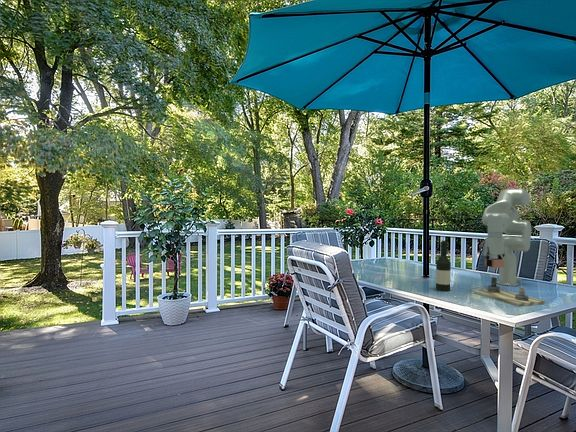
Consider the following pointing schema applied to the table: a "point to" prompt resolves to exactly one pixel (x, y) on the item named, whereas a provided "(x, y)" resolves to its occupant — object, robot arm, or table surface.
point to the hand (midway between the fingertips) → (494, 265)
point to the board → (508, 295)
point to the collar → (496, 262)
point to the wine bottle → (443, 270)
